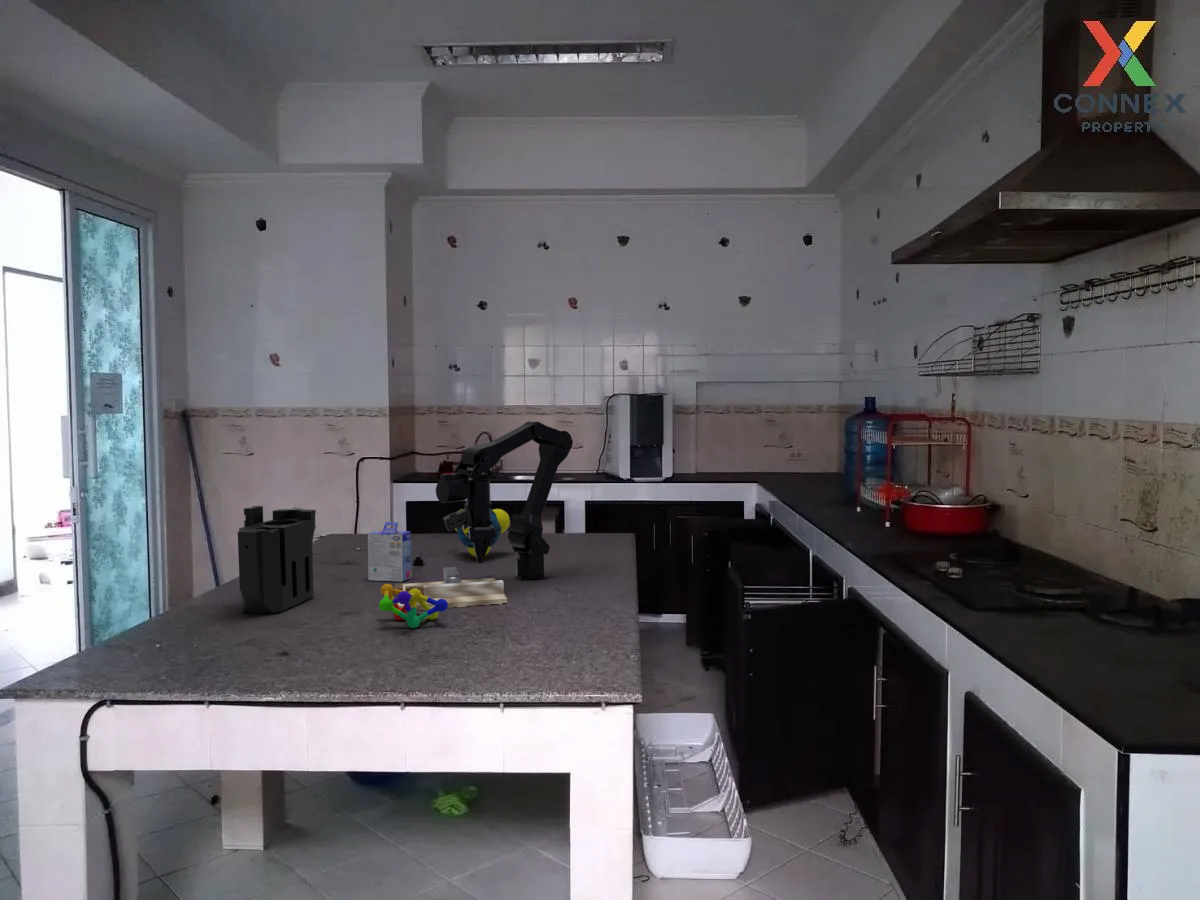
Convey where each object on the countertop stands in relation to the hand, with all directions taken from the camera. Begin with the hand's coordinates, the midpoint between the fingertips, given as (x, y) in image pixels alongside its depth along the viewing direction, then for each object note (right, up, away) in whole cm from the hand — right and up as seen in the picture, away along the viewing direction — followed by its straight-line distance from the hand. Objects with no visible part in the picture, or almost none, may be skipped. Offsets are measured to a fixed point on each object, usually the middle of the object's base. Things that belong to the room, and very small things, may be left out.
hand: (479, 562), depth 205 cm
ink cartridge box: (-24, -6, +10) cm, 27 cm away
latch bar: (-6, -5, -5) cm, 9 cm away
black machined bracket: (-44, -8, -16) cm, 48 cm away
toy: (-5, -4, +37) cm, 37 cm away
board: (-6, -7, -9) cm, 13 cm away
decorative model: (-9, -9, -31) cm, 34 cm away
